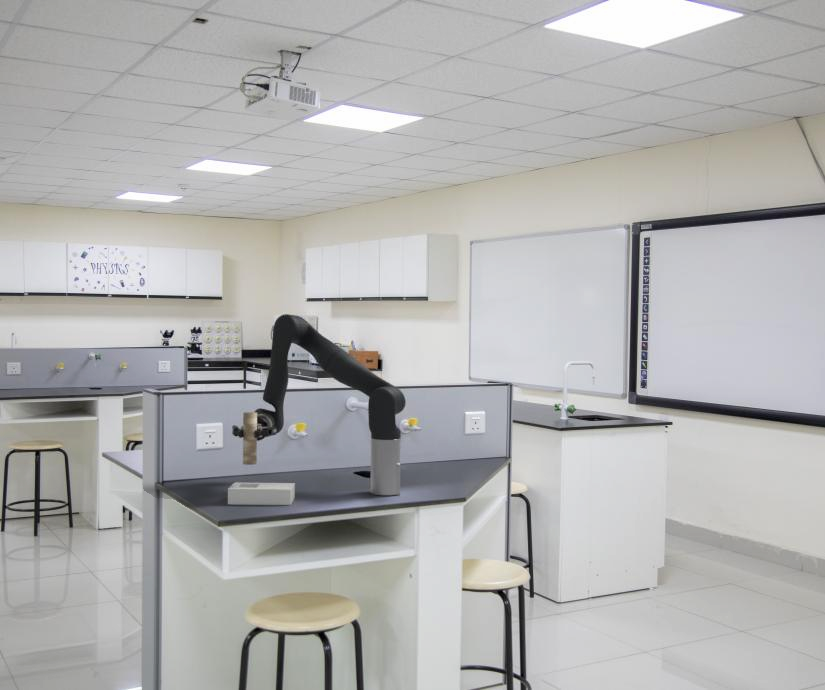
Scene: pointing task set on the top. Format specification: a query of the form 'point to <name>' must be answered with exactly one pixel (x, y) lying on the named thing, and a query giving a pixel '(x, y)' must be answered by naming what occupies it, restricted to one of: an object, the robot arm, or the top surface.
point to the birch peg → (249, 438)
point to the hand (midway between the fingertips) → (248, 434)
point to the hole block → (261, 493)
